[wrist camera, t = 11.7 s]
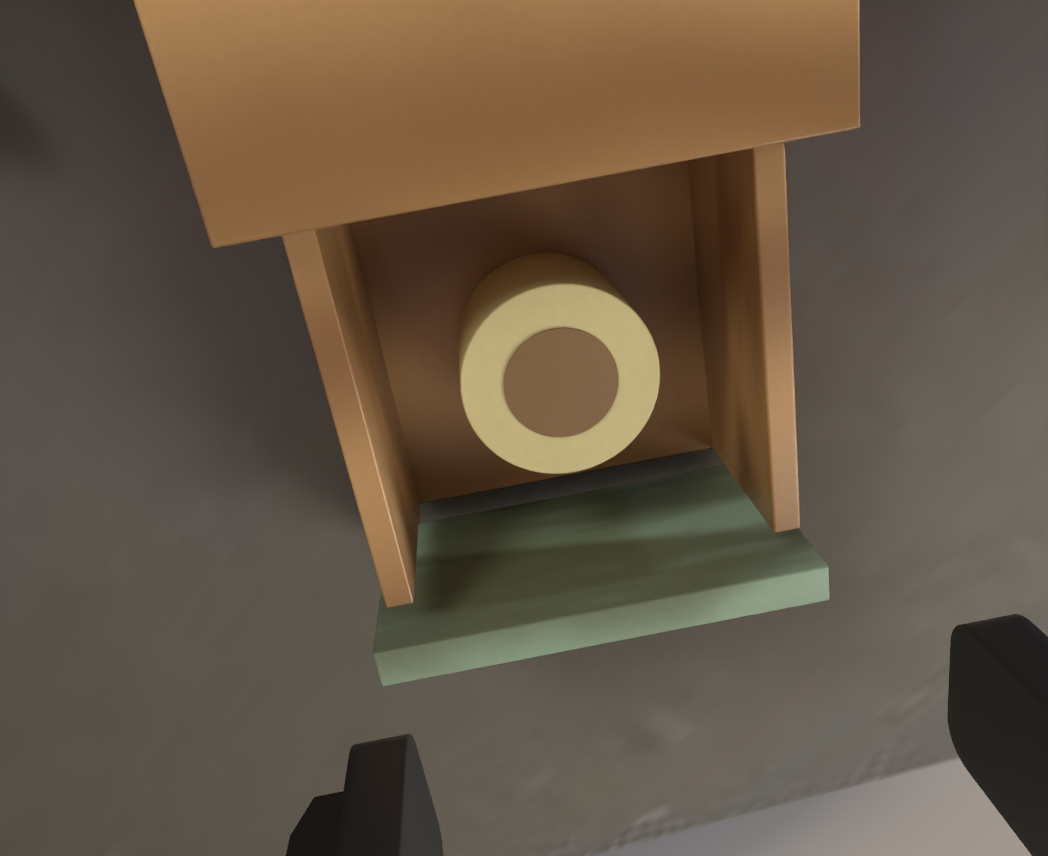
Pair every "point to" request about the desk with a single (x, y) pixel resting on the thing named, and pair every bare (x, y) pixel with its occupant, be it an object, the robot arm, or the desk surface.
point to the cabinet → (478, 96)
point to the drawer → (600, 515)
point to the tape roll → (555, 365)
